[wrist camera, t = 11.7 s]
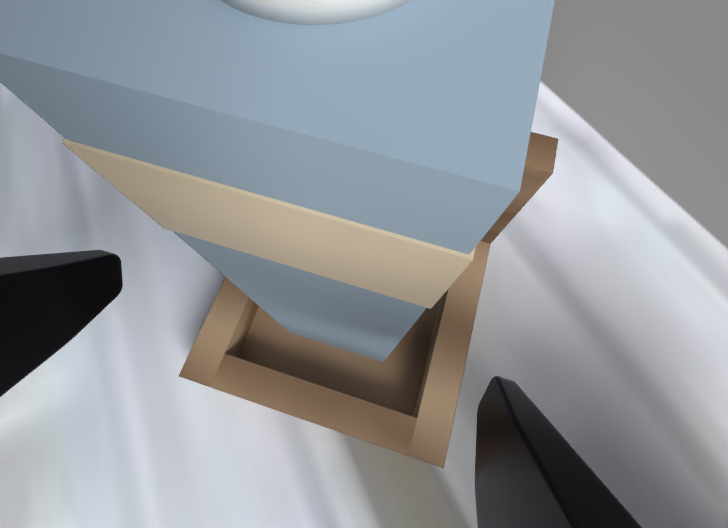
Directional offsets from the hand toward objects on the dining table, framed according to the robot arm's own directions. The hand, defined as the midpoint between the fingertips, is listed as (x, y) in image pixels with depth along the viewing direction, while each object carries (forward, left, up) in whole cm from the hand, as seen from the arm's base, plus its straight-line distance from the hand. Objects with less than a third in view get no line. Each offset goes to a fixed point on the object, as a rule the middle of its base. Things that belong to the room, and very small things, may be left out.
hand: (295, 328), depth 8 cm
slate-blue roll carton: (+3, +2, -10) cm, 11 cm away
